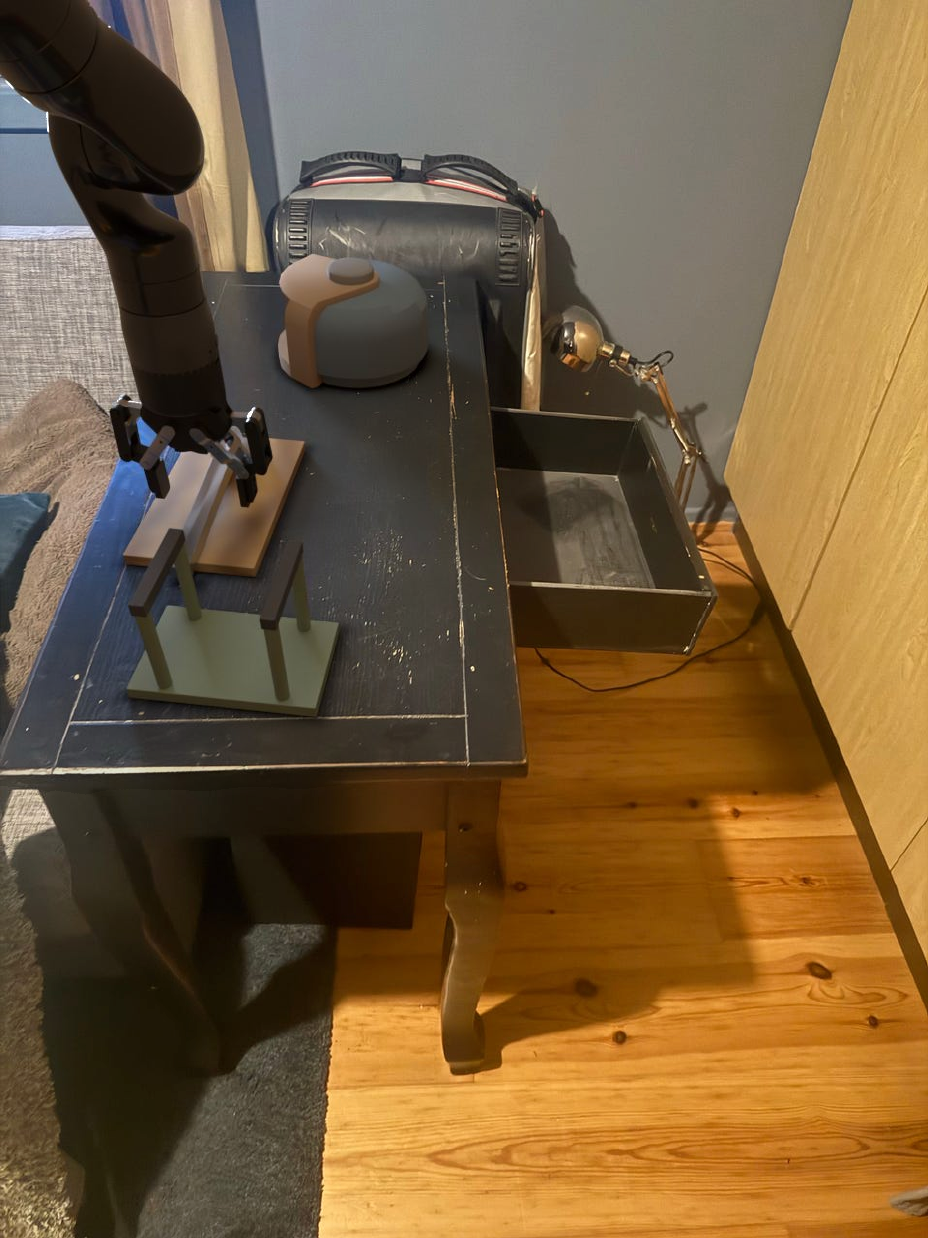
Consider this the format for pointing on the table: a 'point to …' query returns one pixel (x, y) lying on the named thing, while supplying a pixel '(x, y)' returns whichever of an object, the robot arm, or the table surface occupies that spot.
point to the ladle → (206, 507)
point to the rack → (231, 643)
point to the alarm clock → (351, 322)
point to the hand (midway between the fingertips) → (205, 498)
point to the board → (221, 513)
